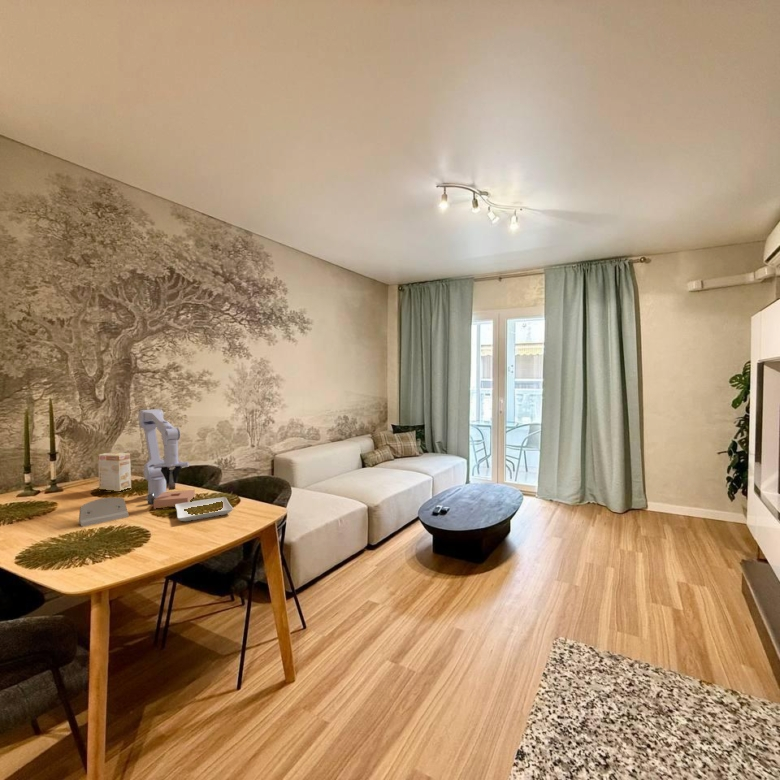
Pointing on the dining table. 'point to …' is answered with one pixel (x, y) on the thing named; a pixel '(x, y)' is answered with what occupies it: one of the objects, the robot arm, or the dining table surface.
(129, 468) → the coffeecake box
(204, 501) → the salad plate
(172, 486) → the tall pin
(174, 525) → the dining table surface
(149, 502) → the short pin
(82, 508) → the grey bracket
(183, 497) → the hole block
